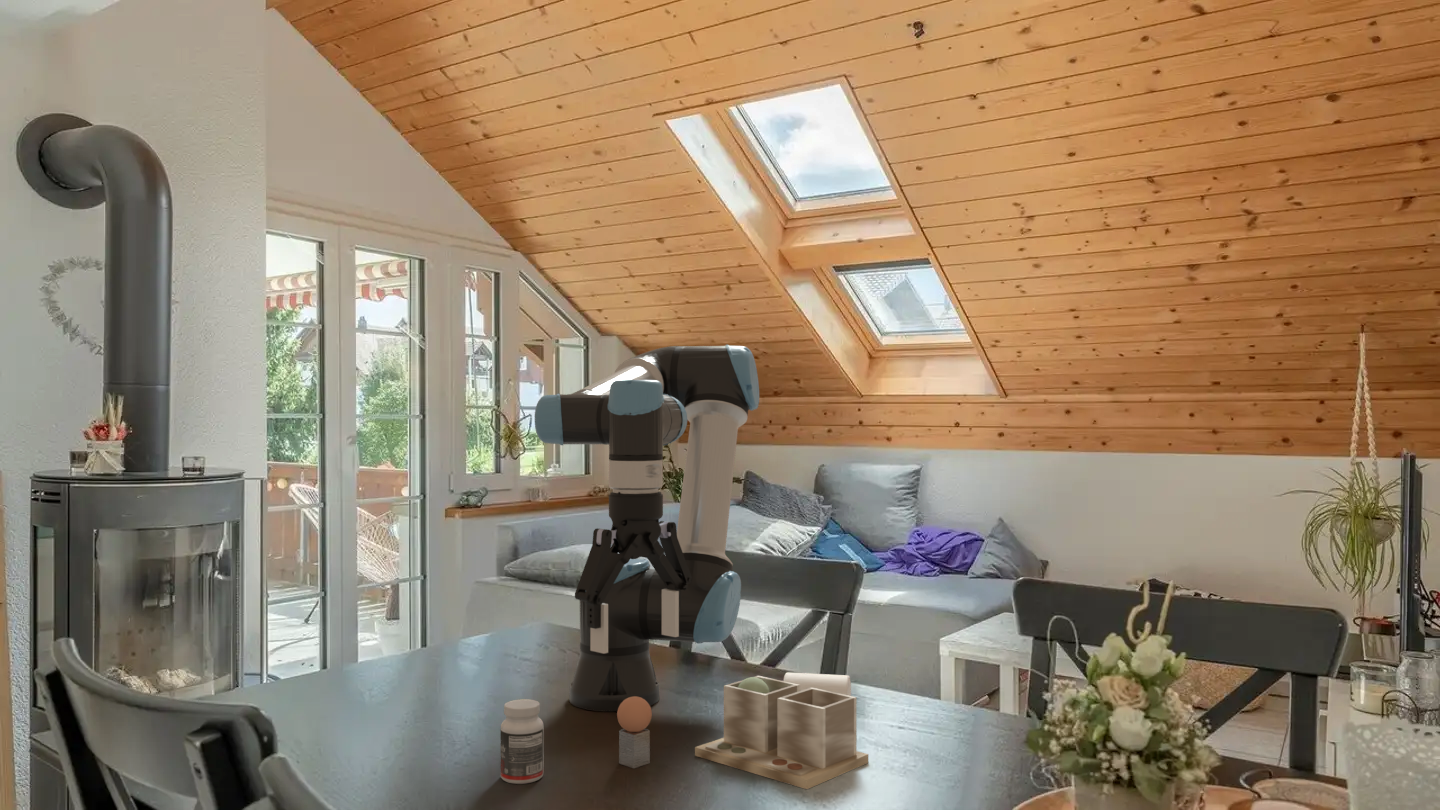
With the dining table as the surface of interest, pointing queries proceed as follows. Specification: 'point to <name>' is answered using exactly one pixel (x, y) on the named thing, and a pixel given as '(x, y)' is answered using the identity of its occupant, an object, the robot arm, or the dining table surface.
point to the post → (634, 748)
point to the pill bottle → (522, 742)
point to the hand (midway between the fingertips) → (635, 643)
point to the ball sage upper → (754, 685)
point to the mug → (821, 682)
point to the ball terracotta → (634, 714)
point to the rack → (787, 733)
